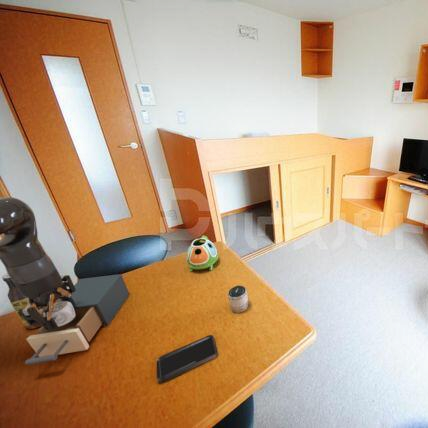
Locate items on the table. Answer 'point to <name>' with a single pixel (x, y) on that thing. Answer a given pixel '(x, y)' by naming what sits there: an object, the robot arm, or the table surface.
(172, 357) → the phone
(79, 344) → the drawer
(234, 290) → the camera lens
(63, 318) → the die
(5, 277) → the sauce bottle
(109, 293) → the cabinet
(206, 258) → the turtle holder
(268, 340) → the table surface
